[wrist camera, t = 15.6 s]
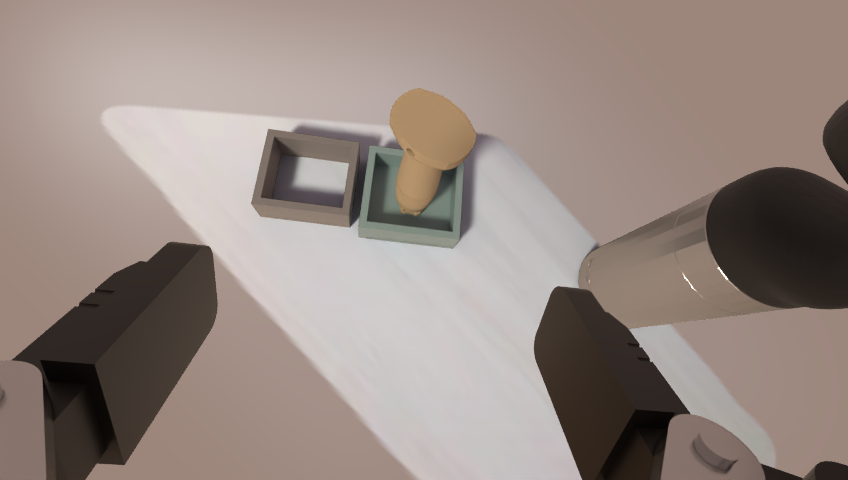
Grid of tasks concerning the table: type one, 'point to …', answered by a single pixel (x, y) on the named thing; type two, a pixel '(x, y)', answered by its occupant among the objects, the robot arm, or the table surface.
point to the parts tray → (391, 225)
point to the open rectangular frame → (309, 148)
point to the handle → (427, 145)
